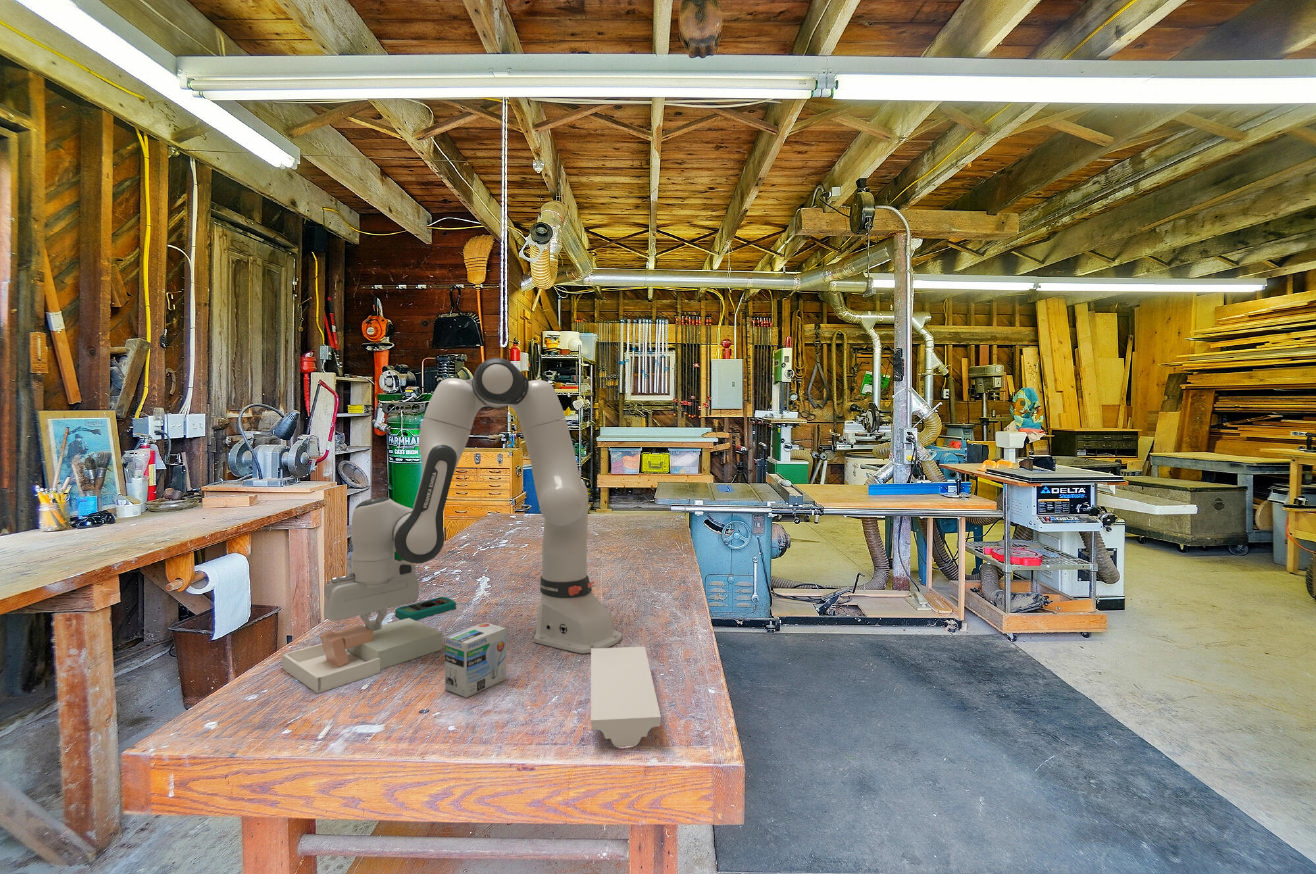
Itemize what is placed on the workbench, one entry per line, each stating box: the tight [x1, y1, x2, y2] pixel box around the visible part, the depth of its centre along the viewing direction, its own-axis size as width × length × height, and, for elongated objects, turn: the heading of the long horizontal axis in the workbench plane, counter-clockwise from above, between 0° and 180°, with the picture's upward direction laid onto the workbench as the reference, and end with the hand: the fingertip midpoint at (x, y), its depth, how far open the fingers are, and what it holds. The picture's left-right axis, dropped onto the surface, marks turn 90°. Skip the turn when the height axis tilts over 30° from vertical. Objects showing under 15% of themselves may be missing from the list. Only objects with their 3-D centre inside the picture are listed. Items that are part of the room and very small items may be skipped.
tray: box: [281, 643, 381, 694], centre depth 126 cm, size 18×12×3 cm
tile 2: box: [333, 624, 373, 649], centre depth 132 cm, size 6×6×2 cm
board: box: [346, 618, 443, 670], centre depth 137 cm, size 15×15×4 cm
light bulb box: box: [444, 622, 507, 698], centre depth 120 cm, size 11×7×11 cm, turn 148°
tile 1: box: [319, 630, 349, 668], centre depth 129 cm, size 6×6×2 cm
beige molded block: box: [590, 646, 662, 748], centre depth 113 cm, size 12×30×5 cm, turn 6°
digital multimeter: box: [394, 596, 457, 621], centre depth 164 cm, size 7×15×3 cm, turn 142°
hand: (373, 630), depth 135 cm, fingers closed
